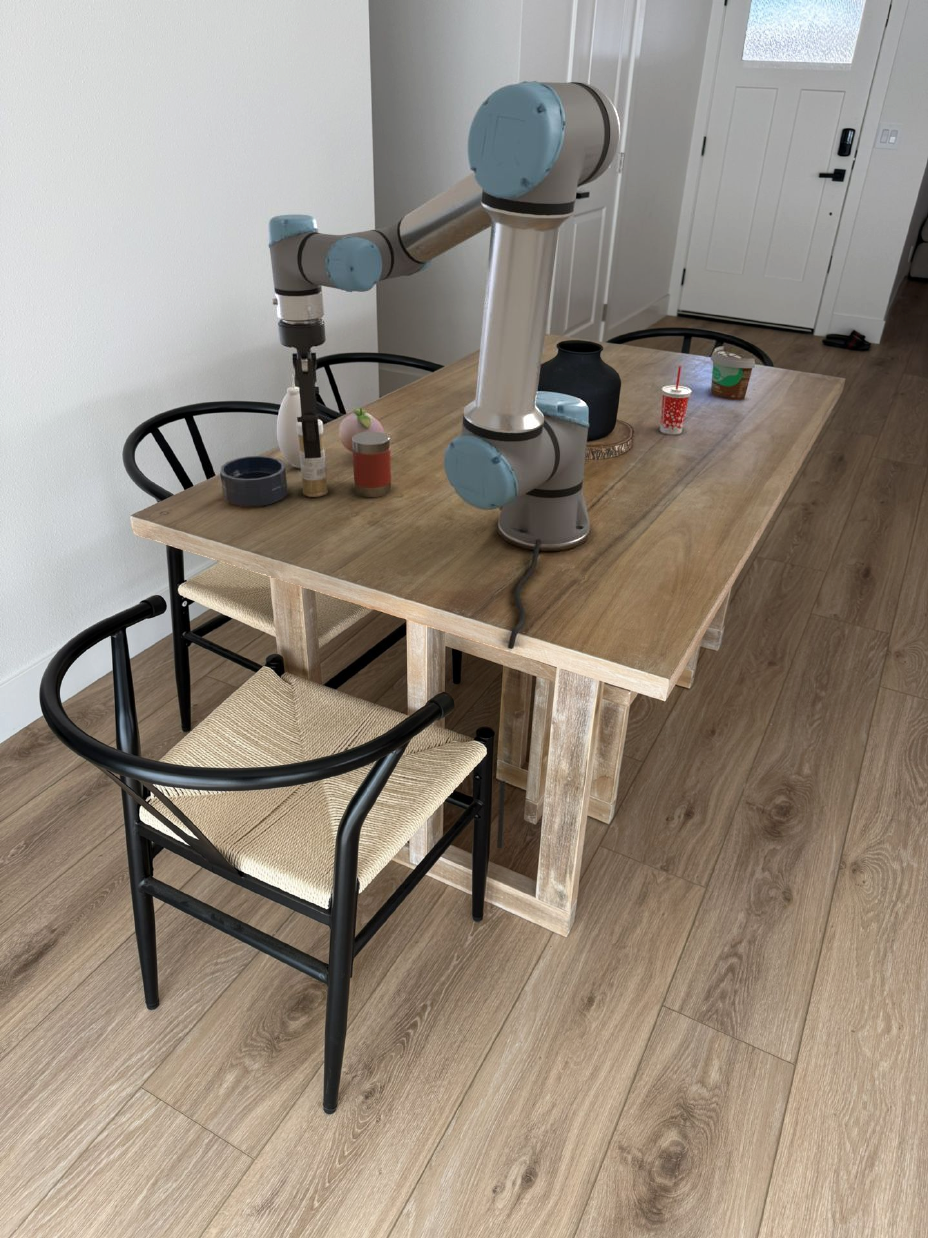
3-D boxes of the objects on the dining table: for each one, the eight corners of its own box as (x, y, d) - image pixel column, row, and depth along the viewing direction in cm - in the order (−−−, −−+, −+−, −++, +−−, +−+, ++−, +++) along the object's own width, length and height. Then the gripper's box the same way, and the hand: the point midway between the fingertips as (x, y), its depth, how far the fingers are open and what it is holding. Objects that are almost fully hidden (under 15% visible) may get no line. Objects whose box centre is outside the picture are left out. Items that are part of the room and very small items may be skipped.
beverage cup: (690, 433, 189) (701, 368, 182) (666, 437, 187) (675, 371, 180) (675, 424, 194) (684, 360, 187) (651, 427, 192) (659, 363, 185)
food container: (694, 389, 216) (701, 348, 211) (715, 386, 218) (721, 345, 213) (727, 404, 206) (735, 361, 201) (748, 401, 209) (756, 358, 203)
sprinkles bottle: (319, 485, 163) (313, 415, 156) (332, 493, 160) (327, 422, 153) (297, 492, 161) (291, 420, 154) (310, 500, 158) (304, 427, 151)
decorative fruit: (334, 453, 177) (330, 404, 172) (372, 446, 180) (369, 398, 175) (351, 469, 170) (348, 419, 165) (390, 462, 173) (388, 412, 168)
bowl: (287, 507, 155) (284, 478, 152) (222, 511, 153) (218, 481, 151) (288, 482, 164) (285, 454, 162) (226, 485, 163) (222, 457, 160)
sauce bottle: (276, 461, 173) (267, 369, 163) (316, 456, 175) (309, 366, 166) (284, 476, 167) (275, 382, 157) (325, 471, 169) (318, 378, 160)
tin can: (393, 496, 160) (391, 443, 154) (355, 498, 159) (352, 445, 153) (389, 481, 165) (387, 430, 160) (353, 483, 164) (350, 432, 159)
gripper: (278, 303, 154) (290, 421, 165) (276, 338, 133) (290, 471, 144) (321, 301, 155) (331, 419, 166) (326, 336, 134) (336, 468, 145)
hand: (312, 443), depth 155 cm, fingers open, 13 cm apart
